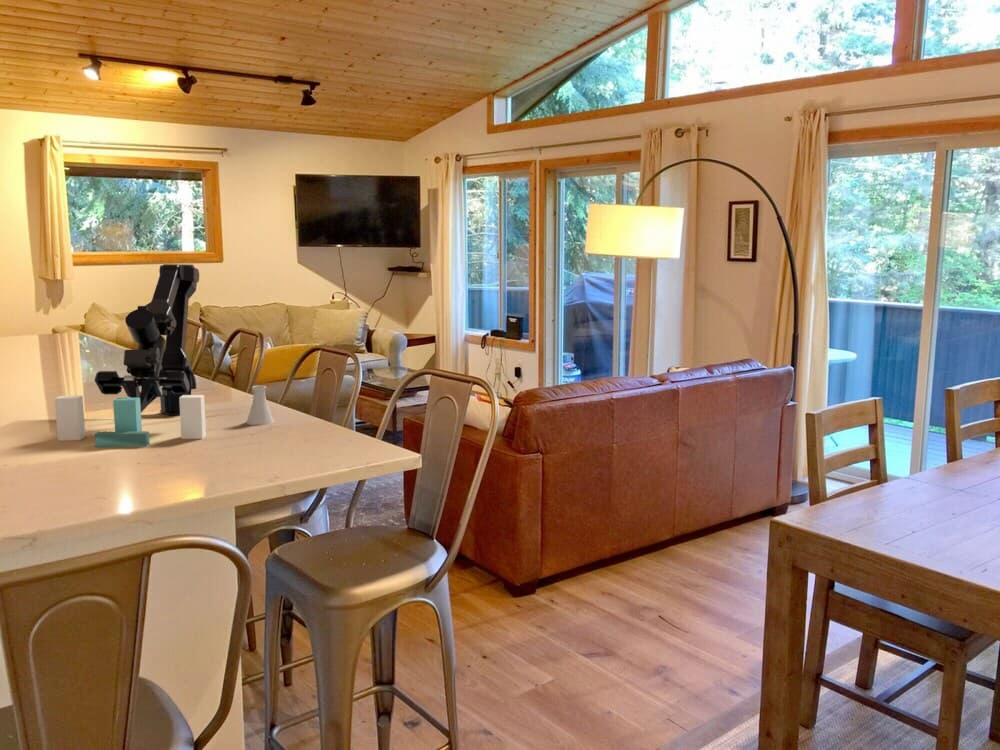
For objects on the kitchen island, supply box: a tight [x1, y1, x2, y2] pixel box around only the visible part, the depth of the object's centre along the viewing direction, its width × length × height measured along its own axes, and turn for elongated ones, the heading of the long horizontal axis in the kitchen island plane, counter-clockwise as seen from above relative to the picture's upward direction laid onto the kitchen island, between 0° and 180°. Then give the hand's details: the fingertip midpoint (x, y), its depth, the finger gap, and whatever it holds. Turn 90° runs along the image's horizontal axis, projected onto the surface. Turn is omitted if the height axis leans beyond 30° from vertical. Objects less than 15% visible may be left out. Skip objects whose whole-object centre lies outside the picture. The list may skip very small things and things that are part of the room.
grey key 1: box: [54, 395, 86, 442], centre depth 172 cm, size 3×4×9 cm
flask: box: [246, 385, 275, 426], centre depth 191 cm, size 7×7×10 cm
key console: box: [94, 430, 150, 448], centre depth 171 cm, size 12×31×4 cm, turn 96°
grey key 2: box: [179, 394, 207, 440], centre depth 175 cm, size 3×4×9 cm
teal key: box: [112, 397, 143, 432], centre depth 171 cm, size 3×4×9 cm
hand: (136, 414), depth 176 cm, fingers closed
